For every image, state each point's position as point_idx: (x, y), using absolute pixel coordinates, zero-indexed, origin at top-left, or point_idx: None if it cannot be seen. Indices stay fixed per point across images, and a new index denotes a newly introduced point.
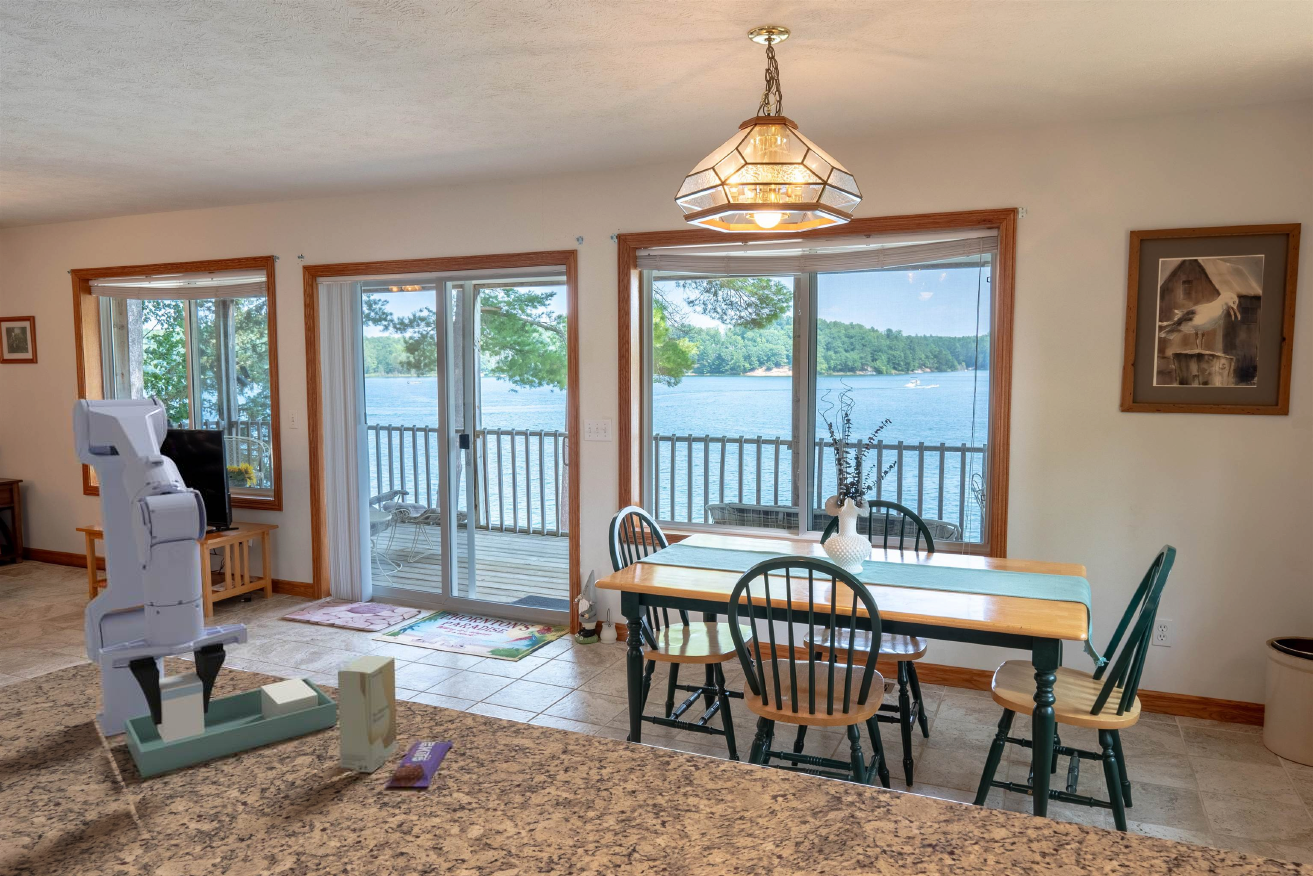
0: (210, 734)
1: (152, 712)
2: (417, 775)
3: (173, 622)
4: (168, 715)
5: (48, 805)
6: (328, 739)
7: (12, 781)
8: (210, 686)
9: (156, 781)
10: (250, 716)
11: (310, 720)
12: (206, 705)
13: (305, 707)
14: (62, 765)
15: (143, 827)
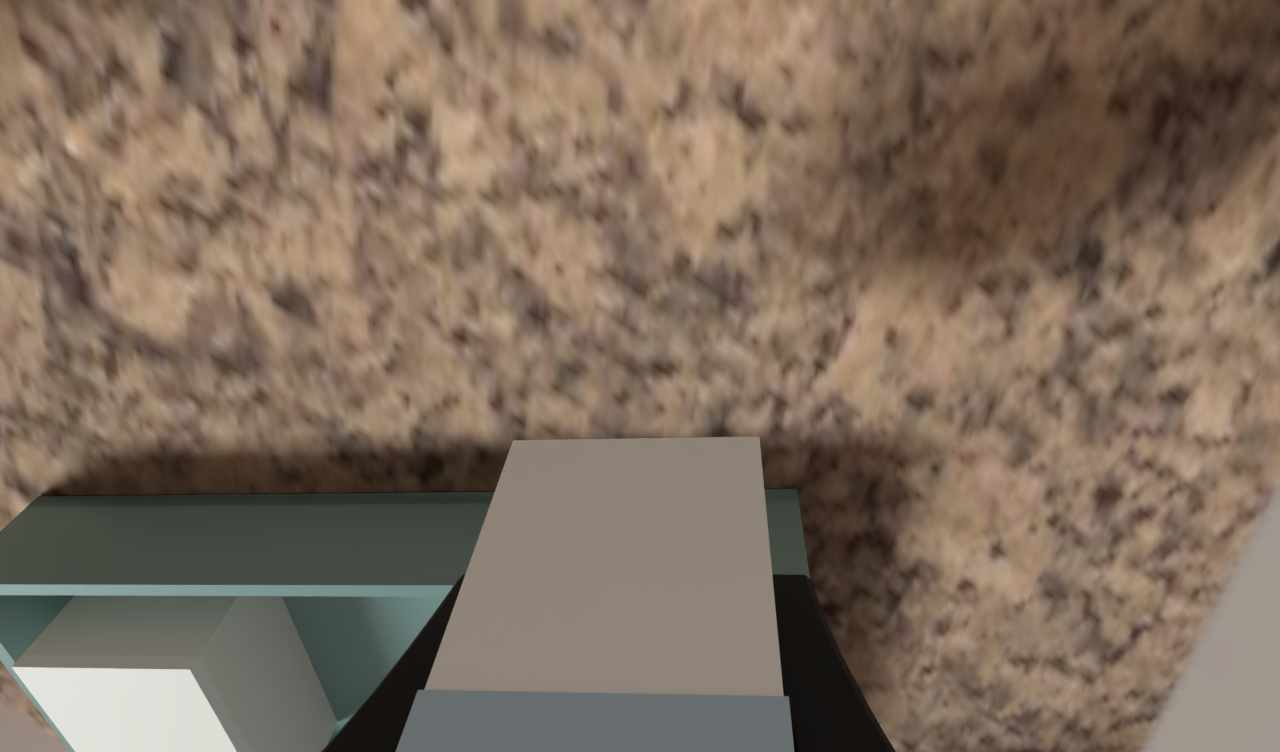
0: None
1: (840, 656)
2: None
3: None
4: (731, 575)
5: (1137, 503)
6: (62, 424)
7: (1151, 725)
8: (348, 741)
9: None
10: None
11: (98, 543)
12: (446, 612)
13: (102, 626)
14: (989, 742)
15: (901, 33)
